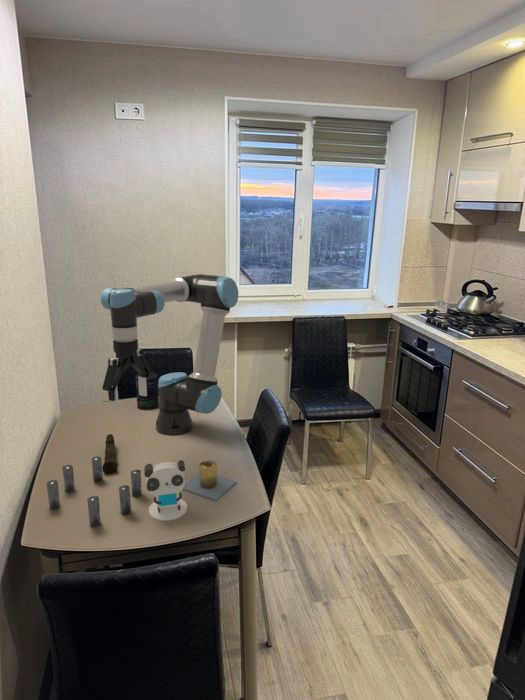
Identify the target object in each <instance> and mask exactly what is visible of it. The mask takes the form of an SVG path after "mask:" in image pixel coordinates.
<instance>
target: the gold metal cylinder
mask: <svg viewBox="0 0 525 700" xmlns="http://www.w3.org/2000/svg"><path fill="white" fill-rule="evenodd" d="M198 466H199V467H198V468H199V469H198V470H199V471H198V473H199V474H200V486H201V487H202V488H205V489H211V488H214V487H215V486H216V485H217V476H218V471H217V470H218V467H217V462H215V461H213V460H204V461H201V462H200V463H199V464H198Z"/></svg>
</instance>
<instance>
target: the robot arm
mask: <svg viewBox="0 0 525 700" xmlns="http://www.w3.org/2000/svg"><path fill="white" fill-rule="evenodd" d="M238 287H239V286H238V285H237V282H236V281H235V280H234V279H233V278H232V277H229V276H224V275H211V274H210V275H209V274H203V273H202V274H199V273H198V274H192V275H186V276H185V275H184V276H180V277H176V278H173V280H171V281H165V282H164V281H163V282H157V283H156V282H155V283H149V284H145V285H144V284H143V285H142V284H141V285H136V286H129V287H122V288H120V287H119V288H117V287H108V288H105V289H104V290H103V291H102V292H101V295H100V304H101V306H102V307H103V308H105V309H106V310H110V317H111V329H112V339H113V341H112V343H113V345H112V346H113V352H114V353H115V357H114V358H107V359H108V360H107V370H106V373H105V377H104V381H103V385H102V390H103V391H107V393H108V400H109V404H110V409H111V410H113V411H119V410H120V406H119V392H118V390H117V387H118V385H119V382H120V380H121V378H122V376H123V373H125V372H126V370H128V369H129V368H133V369H134V371H136V372H137V374H139V375H140V376H139V377H138V383H139V395H141V396H147V386H146V385H147V377H149V376H150V374H149V373H152V370H151V367H150V366H149V363H148V361H147V359H146V356H145V352H144V349H143V348H141V349H140V348H139V339H138V333H139V332H138V319H137V318H142V317H147V316H152V315H155V314H158V313H159V314H160V312H162V311H163V310H164V308H165V303H170V302H174V301H175V302H178V303H184V302H185V303H186V302H188V303H189V302H190V303H197V304H200V309H201V311H202V312H203V314H202V319H201V325H200V330H199V337H198V341H197V342H198V343H197V348H196V353H195V354H196V355H195V361H194V365H193V370H192V371H193V372H192V373H191V374H189V375H188V374H187V373H186V372H182V371H181V372H179V371H177V372H169V373H166V374H163V375H161V376H160V377H159V378H158V387H157V390H158V398H159V401H158V404H159V406H158V408H159V409H158V414H157V418H156V422H155V430H156V431H157V432H158V433H159V434H162V435H168V436H170V435H171V436H176V435H182V434H185V433H188V432H190V431H192V429H193V425H194V423H193V419H192V417H191V413H190V411H193V412H196V413H199V414H211V413H212V412H214V411H215V410H216V409H217V407H218V406H219V405H220V402H221V399H222V395H223V394H222V389H221V387H220V386H219V385H218V381H219V380H218V379H217V377H216V370H217V365H218V358H219V352H220V347H221V341H222V337H223V330H224V324H225V318H226V316H227V315H229V314H230V313H231V309H233V308H234V307H235V306H236V304H237V303H238V300H239V288H238Z"/></svg>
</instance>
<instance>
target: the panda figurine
mask: <svg viewBox="0 0 525 700" xmlns="http://www.w3.org/2000/svg"><path fill="white" fill-rule="evenodd" d="M143 471H144V472H143V473H144V477H146V490H147V492H148V493H149V494H150V495H152V496H153V497H154V498H153V502H152V503H151V505H150V506H149V508H148V514H149V516H150V517H151V518H152V519H155V520H157V521H163V522H164V521H165V522H168V521H173V520H177V519H179V518H181V517H183V516H184V515H185V514H186V513H187V510H188V504H187V502H186V501H185V500H183V499H182V498H183V494H182V493H181V492H182V491H183V490H182V489H183V488H184V485H185V483H186V478H185V471H186V465H185V461H184V460H183V459H181V460H178V461H177V462H173V461H165V462H159V463H156V464H155V465H152V464H151V463H146V464H145V465H144V470H143Z"/></svg>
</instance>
